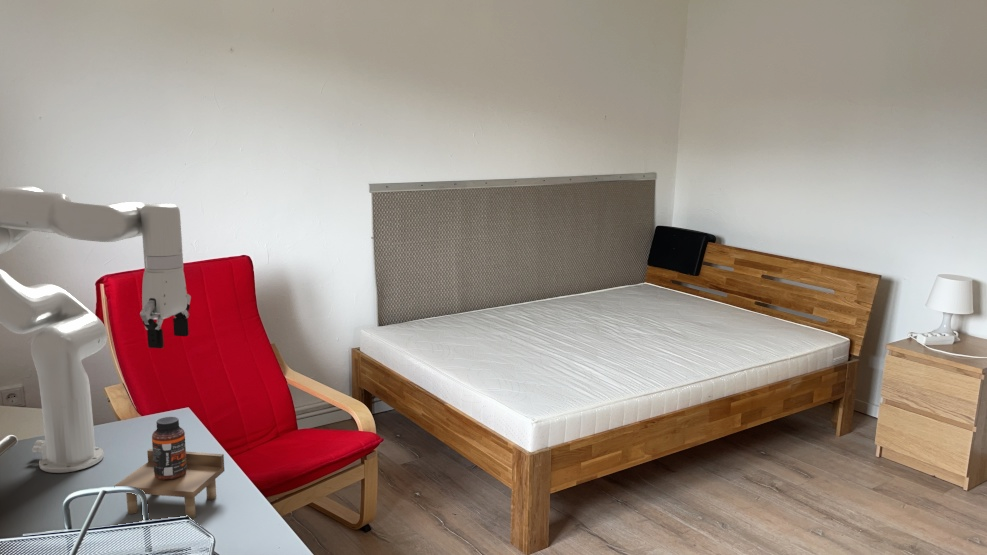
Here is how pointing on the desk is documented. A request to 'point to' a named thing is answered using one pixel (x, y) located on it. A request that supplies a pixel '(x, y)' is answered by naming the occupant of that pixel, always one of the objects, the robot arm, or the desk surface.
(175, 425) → the supplement bottle
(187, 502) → the peg shelf
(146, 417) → the desk surface
